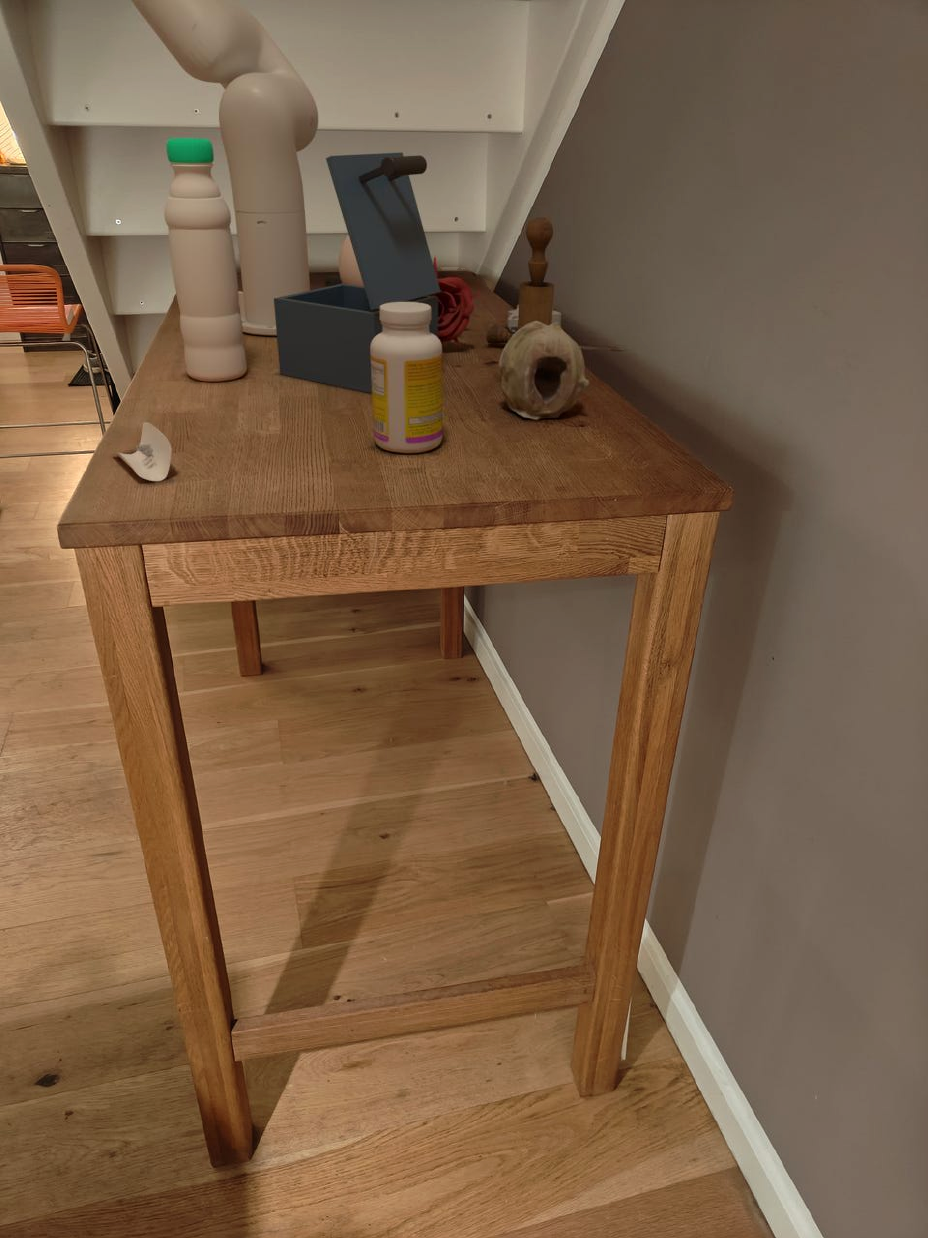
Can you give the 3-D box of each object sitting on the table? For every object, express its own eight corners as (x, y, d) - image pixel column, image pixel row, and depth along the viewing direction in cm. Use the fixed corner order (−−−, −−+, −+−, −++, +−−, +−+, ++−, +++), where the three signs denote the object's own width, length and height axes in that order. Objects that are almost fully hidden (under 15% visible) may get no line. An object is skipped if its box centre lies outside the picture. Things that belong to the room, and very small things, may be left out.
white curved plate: (144, 416, 81) (110, 412, 79) (173, 441, 75) (138, 436, 73) (138, 455, 82) (105, 451, 80) (167, 482, 76) (132, 478, 75)
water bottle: (232, 384, 102) (204, 139, 89) (176, 380, 103) (140, 137, 91) (256, 369, 108) (233, 137, 95) (203, 365, 109) (173, 136, 97)
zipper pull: (490, 342, 119) (490, 309, 117) (512, 322, 135) (513, 292, 133) (548, 345, 118) (549, 311, 116) (563, 324, 133) (565, 294, 131)
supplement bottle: (451, 437, 87) (453, 302, 81) (427, 459, 82) (427, 316, 75) (389, 429, 89) (386, 296, 83) (362, 450, 84) (356, 309, 77)
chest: (280, 374, 107) (273, 298, 102) (345, 353, 116) (342, 283, 111) (376, 394, 100) (373, 313, 95) (438, 370, 109) (438, 296, 105)
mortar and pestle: (566, 378, 107) (578, 216, 98) (547, 391, 102) (559, 222, 93) (515, 371, 110) (523, 213, 101) (495, 384, 104) (501, 218, 95)
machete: (638, 340, 122) (644, 345, 117) (634, 359, 123) (639, 366, 118) (487, 320, 121) (487, 325, 117) (485, 340, 122) (485, 346, 118)
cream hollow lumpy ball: (500, 430, 97) (473, 340, 94) (556, 405, 101) (533, 317, 97) (554, 426, 89) (527, 328, 86) (613, 399, 93) (589, 304, 90)
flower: (477, 265, 139) (483, 253, 110) (475, 343, 143) (481, 351, 114) (397, 263, 139) (383, 251, 110) (397, 342, 142) (384, 350, 114)
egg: (395, 305, 143) (394, 229, 137) (342, 306, 142) (338, 229, 136) (389, 295, 150) (388, 222, 145) (338, 296, 149) (335, 222, 143)
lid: (325, 158, 91) (366, 137, 87) (397, 154, 100) (437, 136, 96) (371, 310, 95) (411, 297, 92) (435, 293, 105) (475, 280, 101)
